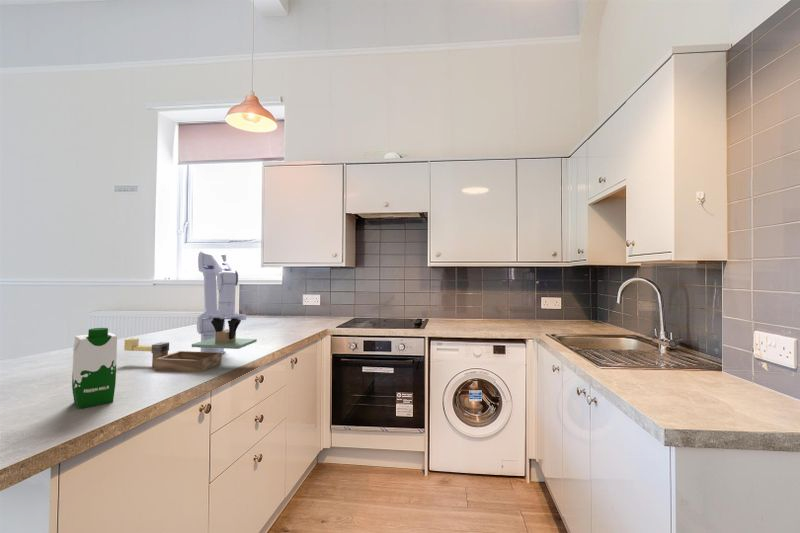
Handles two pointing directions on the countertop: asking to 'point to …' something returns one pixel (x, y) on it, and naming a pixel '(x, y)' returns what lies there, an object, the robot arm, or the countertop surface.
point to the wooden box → (182, 359)
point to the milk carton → (94, 368)
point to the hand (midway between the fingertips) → (225, 338)
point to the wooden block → (136, 346)
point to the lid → (224, 341)
